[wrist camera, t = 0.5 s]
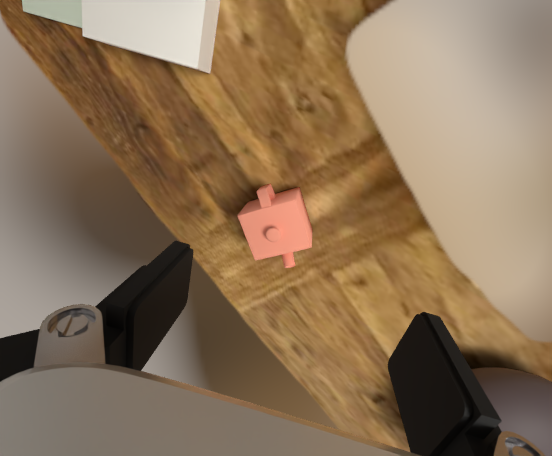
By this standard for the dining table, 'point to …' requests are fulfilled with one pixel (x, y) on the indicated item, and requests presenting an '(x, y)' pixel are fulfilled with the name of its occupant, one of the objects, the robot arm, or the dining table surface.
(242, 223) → the pink cube teapot
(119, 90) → the dining table surface
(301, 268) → the dining table surface
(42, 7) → the mat
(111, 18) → the plate
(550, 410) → the flattened ellipsoid
